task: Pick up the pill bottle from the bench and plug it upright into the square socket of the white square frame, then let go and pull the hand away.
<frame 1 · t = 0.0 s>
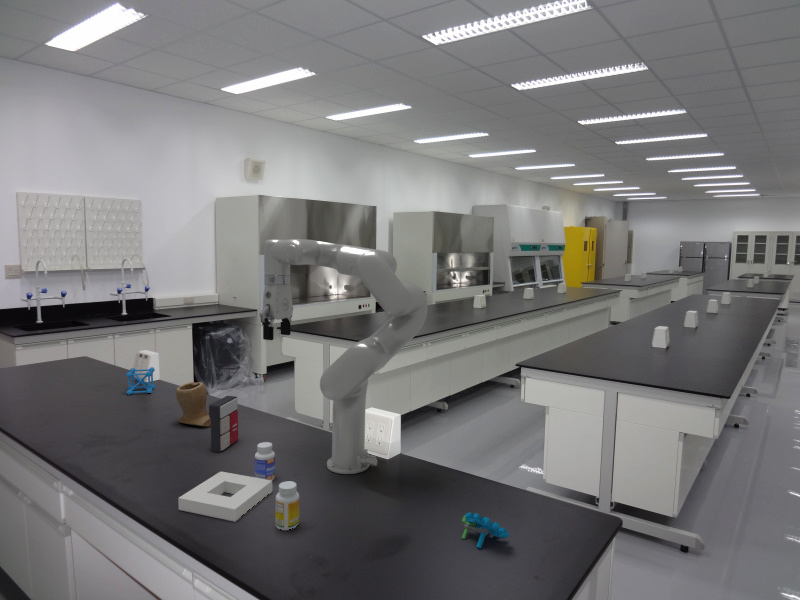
hand: (277, 337, 155), 37 cm above the lab bench, tool pointing down, fingers open, 9 cm apart
pill bottle: (265, 479, 142), on the lab bench
tan hollow piece: (197, 424, 185), on the lab bench
white square frame: (227, 500, 129), on the lab bench
supplement bottle: (287, 525, 118), on the lab bench
calculator: (224, 446, 165), on the lab bench
molecular structure: (141, 392, 223), on the lab bench
blue plastic legged piece: (483, 542, 114), on the lab bench
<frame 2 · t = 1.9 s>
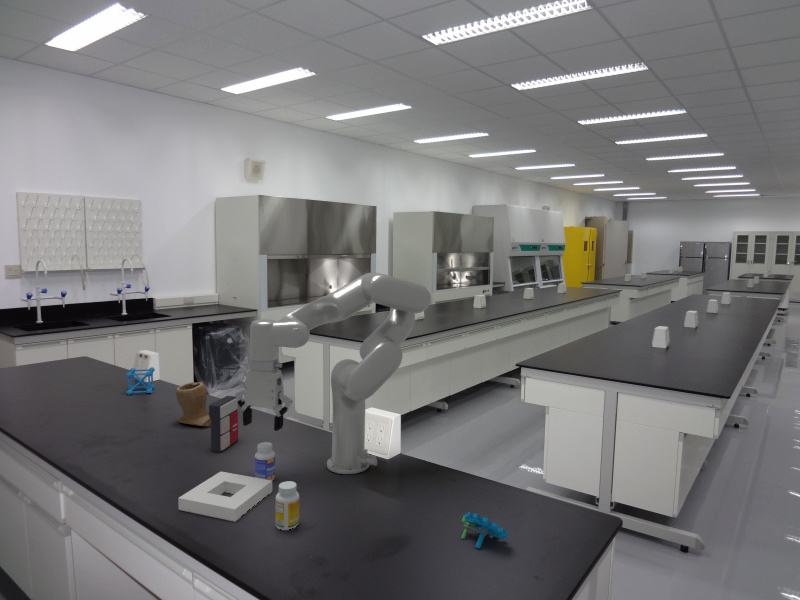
hand: (262, 426, 140), 15 cm above the lab bench, tool pointing down, fingers open, 9 cm apart
nothing on the lab bench moved.
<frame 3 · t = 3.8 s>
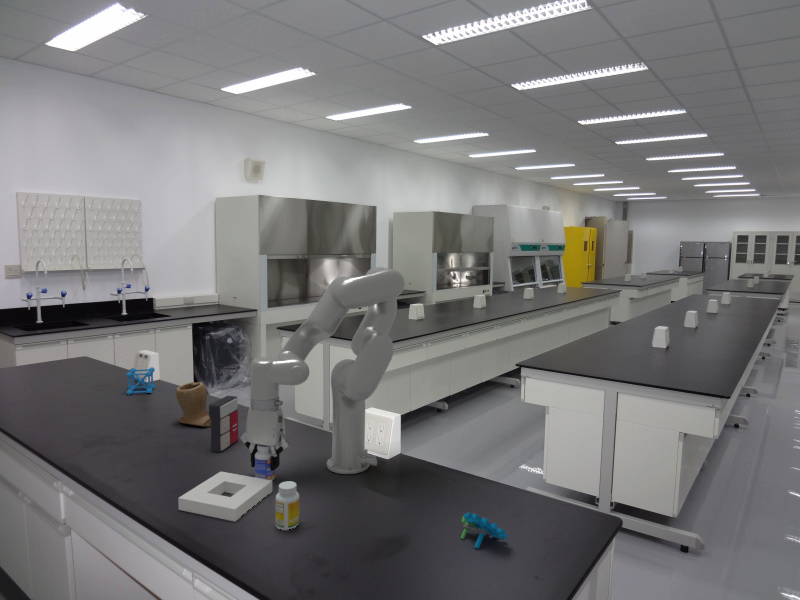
hand: (265, 466, 142), 3 cm above the lab bench, tool pointing down, fingers closed on pill bottle, 5 cm apart
pill bottle: (265, 479, 142), on the lab bench, touching gripper
everything else where it was.
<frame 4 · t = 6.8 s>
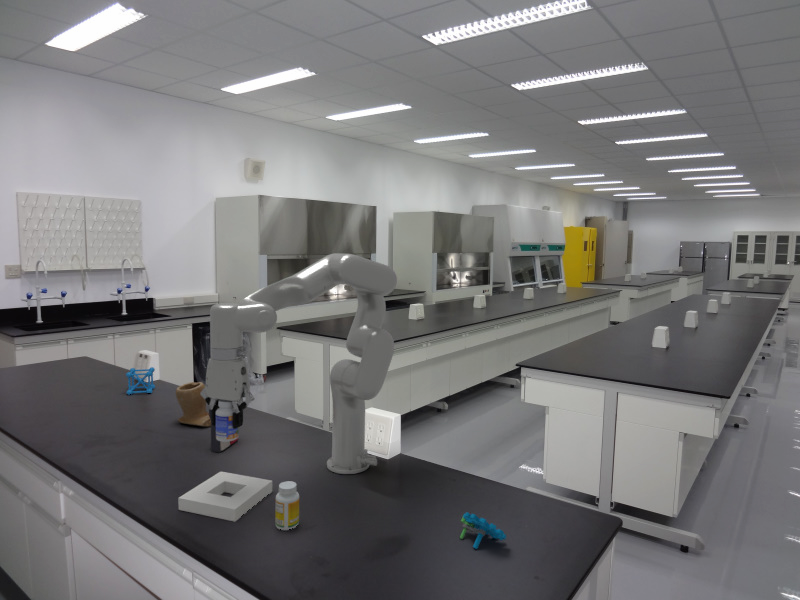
hand: (227, 424, 128), 20 cm above the lab bench, tool pointing down, fingers closed on pill bottle, 5 cm apart
pill bottle: (227, 439, 128), point 16 cm above the lab bench, touching gripper
everything else where it was.
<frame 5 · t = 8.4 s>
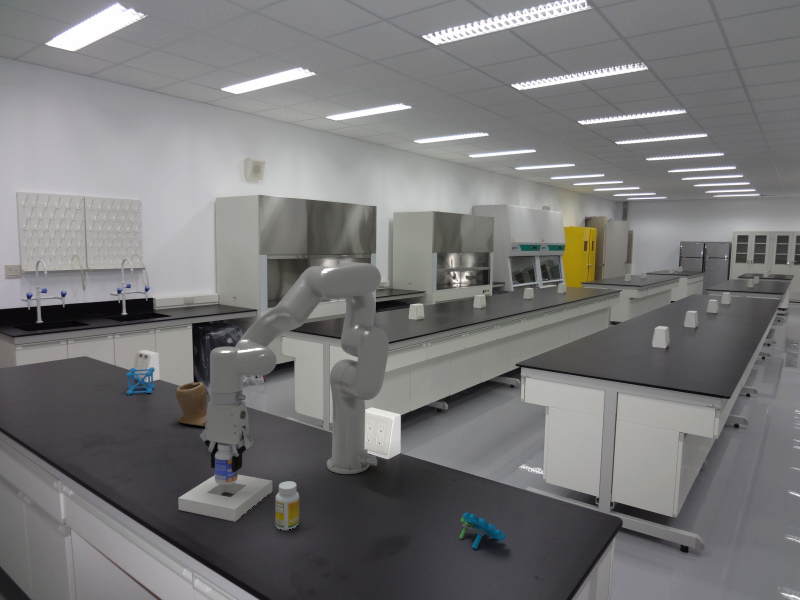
hand: (226, 467, 128), 9 cm above the lab bench, tool pointing down, fingers closed on pill bottle, 5 cm apart
pill bottle: (226, 481, 129), point 5 cm above the lab bench, touching gripper
everything else where it was.
when the fingers open (5 cm above the lab bench, at t = 9.7 s): pill bottle drops 1 cm, resting in white square frame.
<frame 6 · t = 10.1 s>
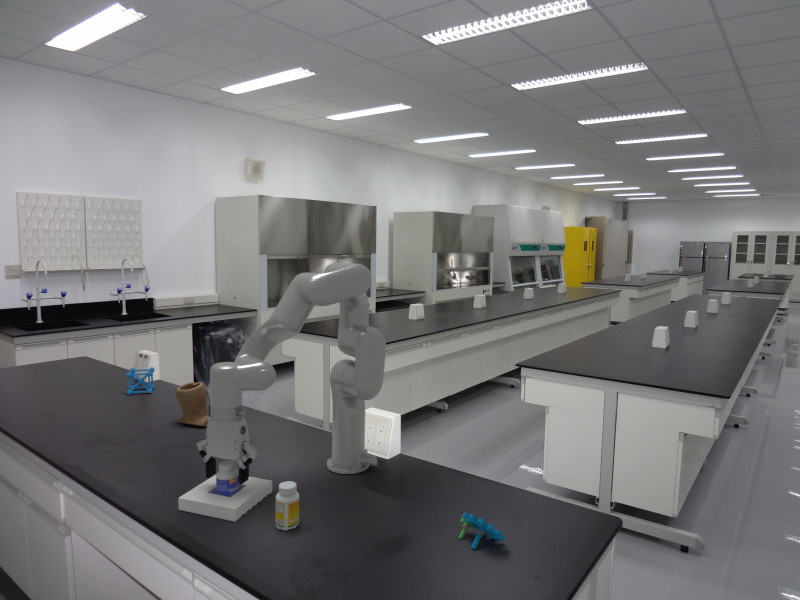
hand: (227, 479, 129), 6 cm above the lab bench, tool pointing down, fingers open, 9 cm apart
pill bottle: (227, 500, 129), resting in white square frame
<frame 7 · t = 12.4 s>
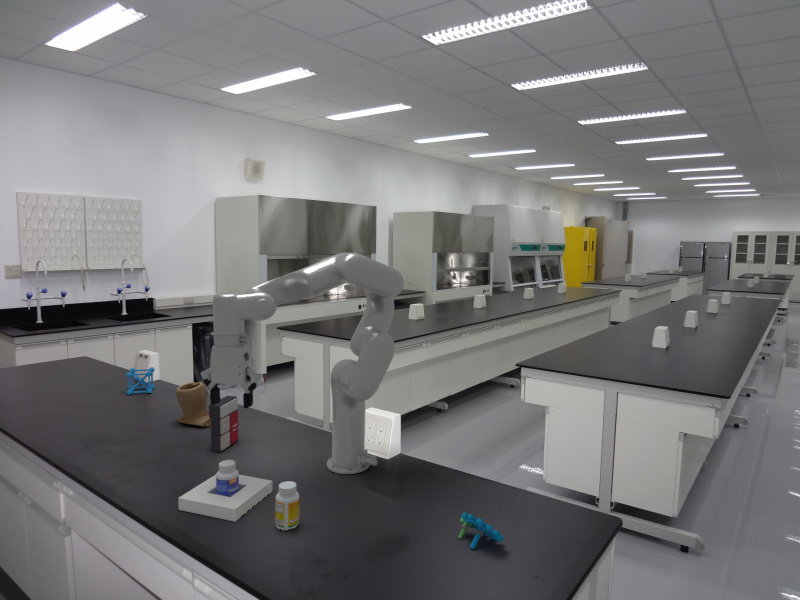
hand: (231, 405, 133), 23 cm above the lab bench, tool pointing down, fingers open, 9 cm apart
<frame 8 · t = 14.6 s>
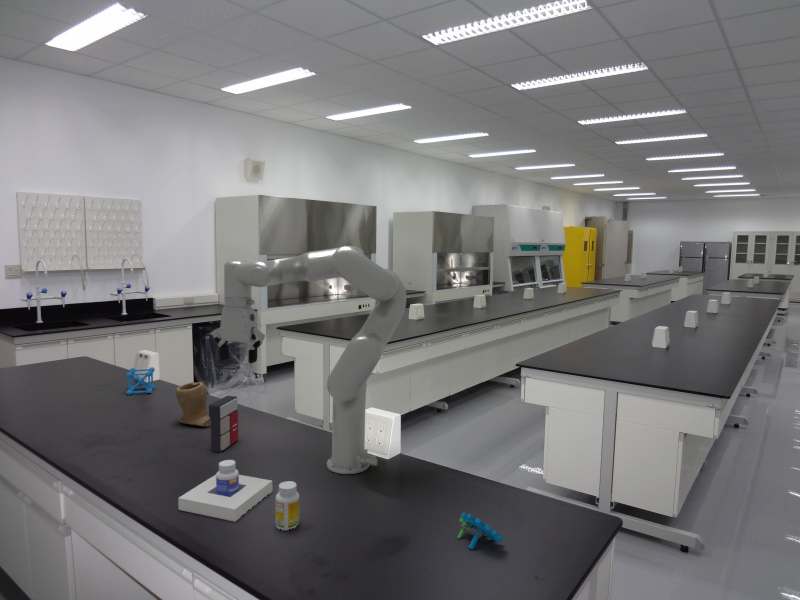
hand: (238, 360, 151), 30 cm above the lab bench, tool pointing down, fingers open, 9 cm apart
at the end: pill bottle 0.2 cm off-centre on the white square frame, point 0.0 cm above the white square frame's base; pill bottle tilted 0°; the gripper is holding nothing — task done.
